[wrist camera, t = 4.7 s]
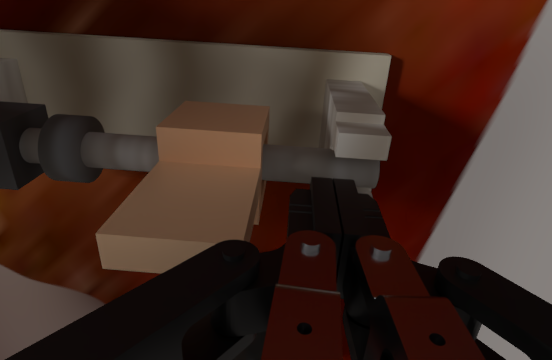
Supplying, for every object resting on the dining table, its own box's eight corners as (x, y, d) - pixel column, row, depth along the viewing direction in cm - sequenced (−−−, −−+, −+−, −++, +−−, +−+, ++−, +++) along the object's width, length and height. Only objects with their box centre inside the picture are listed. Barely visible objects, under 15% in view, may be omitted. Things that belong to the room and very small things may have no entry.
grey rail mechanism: (2, 149, 26) (-144, 223, 17) (-35, 27, 22) (-240, 44, 14) (365, 176, 25) (399, 266, 17) (387, 53, 22) (444, 88, 13)
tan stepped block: (189, 176, 19) (109, 304, 11) (185, 100, 17) (86, 188, 9) (266, 182, 19) (241, 316, 11) (269, 106, 17) (242, 199, 9)
